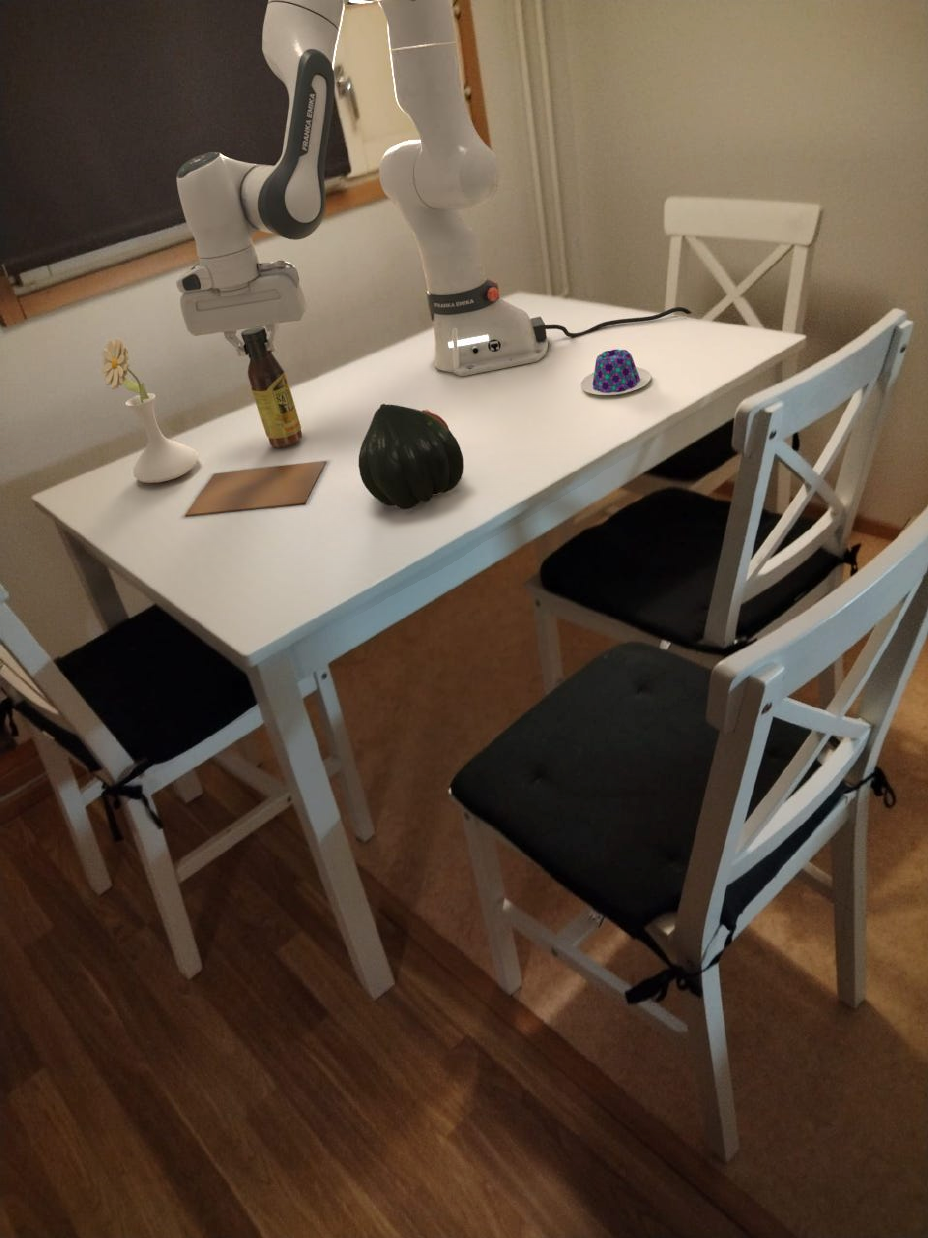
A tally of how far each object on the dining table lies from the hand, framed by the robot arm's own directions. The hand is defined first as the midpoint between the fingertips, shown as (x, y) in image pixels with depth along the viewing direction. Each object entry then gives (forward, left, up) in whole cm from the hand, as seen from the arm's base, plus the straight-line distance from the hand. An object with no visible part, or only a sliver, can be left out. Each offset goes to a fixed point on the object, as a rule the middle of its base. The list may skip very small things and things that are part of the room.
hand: (258, 352), depth 155 cm
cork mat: (0, +17, -16) cm, 24 cm away
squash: (-28, +25, -17) cm, 41 cm away
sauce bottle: (0, 0, -16) cm, 16 cm away
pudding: (-58, -8, -17) cm, 61 cm away
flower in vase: (+19, +8, -17) cm, 27 cm away
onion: (-29, +12, -17) cm, 35 cm away
